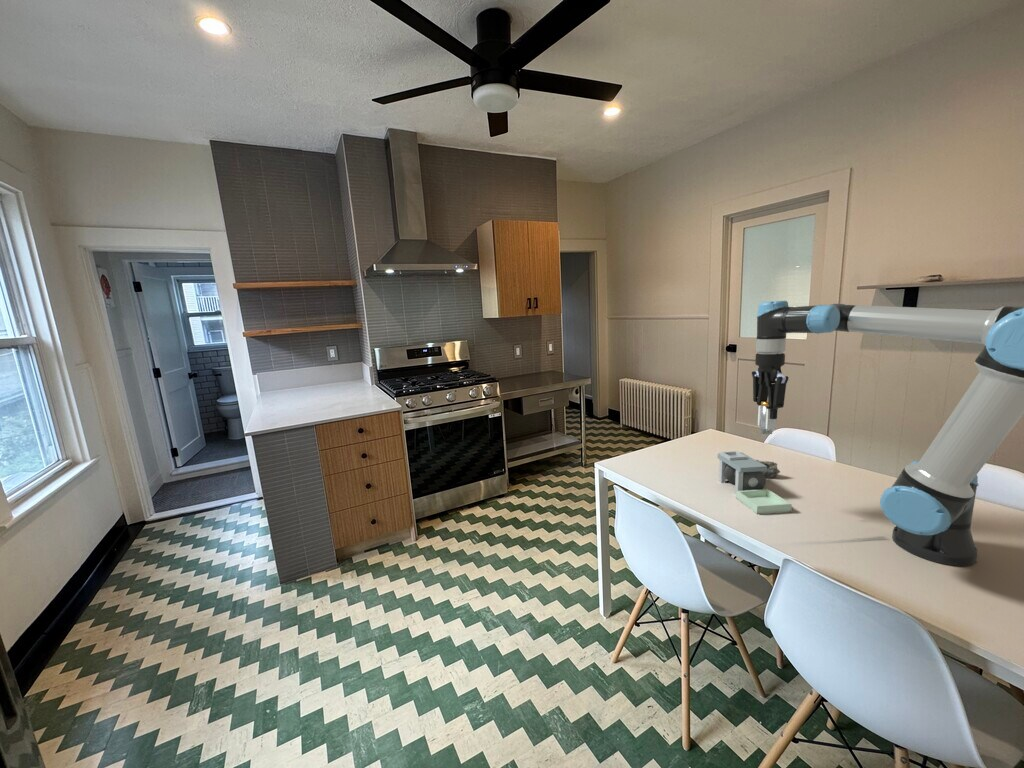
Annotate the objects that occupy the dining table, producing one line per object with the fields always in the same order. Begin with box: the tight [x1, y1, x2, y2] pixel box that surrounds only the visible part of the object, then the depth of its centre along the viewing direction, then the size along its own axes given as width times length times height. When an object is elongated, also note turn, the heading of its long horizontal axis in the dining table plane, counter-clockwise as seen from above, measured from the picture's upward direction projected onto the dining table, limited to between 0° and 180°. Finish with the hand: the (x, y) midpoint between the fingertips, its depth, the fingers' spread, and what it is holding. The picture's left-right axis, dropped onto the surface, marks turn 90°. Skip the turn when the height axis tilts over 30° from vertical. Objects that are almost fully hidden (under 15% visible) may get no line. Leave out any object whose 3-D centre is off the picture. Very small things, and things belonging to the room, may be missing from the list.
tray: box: [735, 488, 792, 515], centre depth 125 cm, size 11×11×3 cm
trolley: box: [717, 450, 767, 495], centre depth 138 cm, size 14×10×12 cm
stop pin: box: [759, 400, 773, 435], centre depth 121 cm, size 3×3×10 cm
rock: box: [755, 459, 781, 479], centre depth 146 cm, size 11×6×10 cm
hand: (766, 426), depth 122 cm, fingers closed on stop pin, 3 cm apart
